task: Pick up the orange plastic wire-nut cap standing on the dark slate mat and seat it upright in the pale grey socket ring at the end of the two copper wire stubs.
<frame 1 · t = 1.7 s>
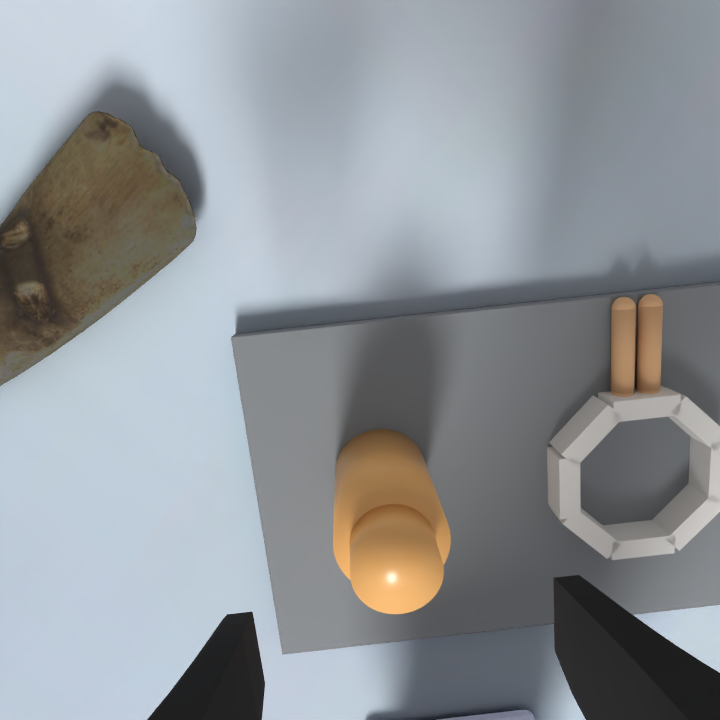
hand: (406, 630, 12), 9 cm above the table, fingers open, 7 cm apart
stone: (47, 267, 20), on the table
mat: (499, 472, 22), on the table
wire nut: (380, 471, 21), point 1 cm above the table, touching mat
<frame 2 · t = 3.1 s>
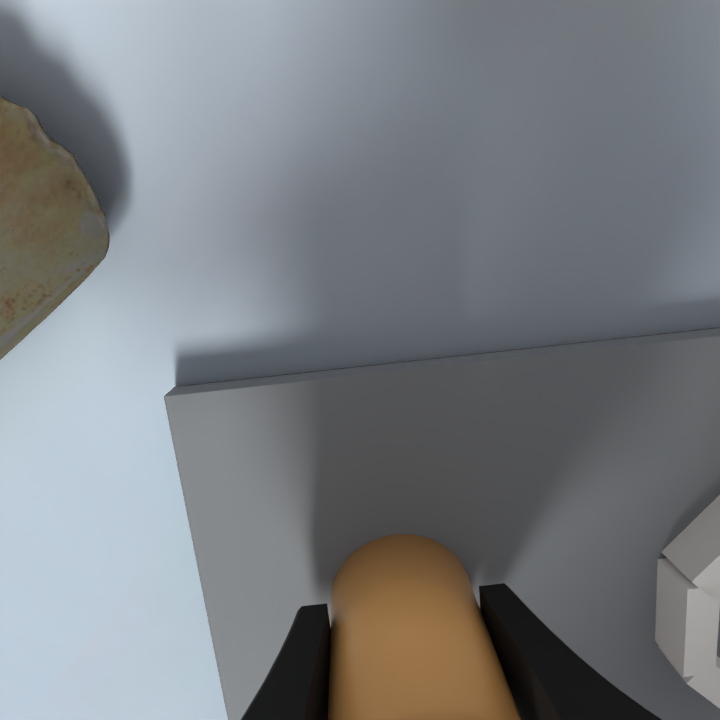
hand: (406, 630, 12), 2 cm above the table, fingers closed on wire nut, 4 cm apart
mat: (579, 588, 15), on the table
wire nut: (401, 596, 13), point 1 cm above the table, touching gripper, mat
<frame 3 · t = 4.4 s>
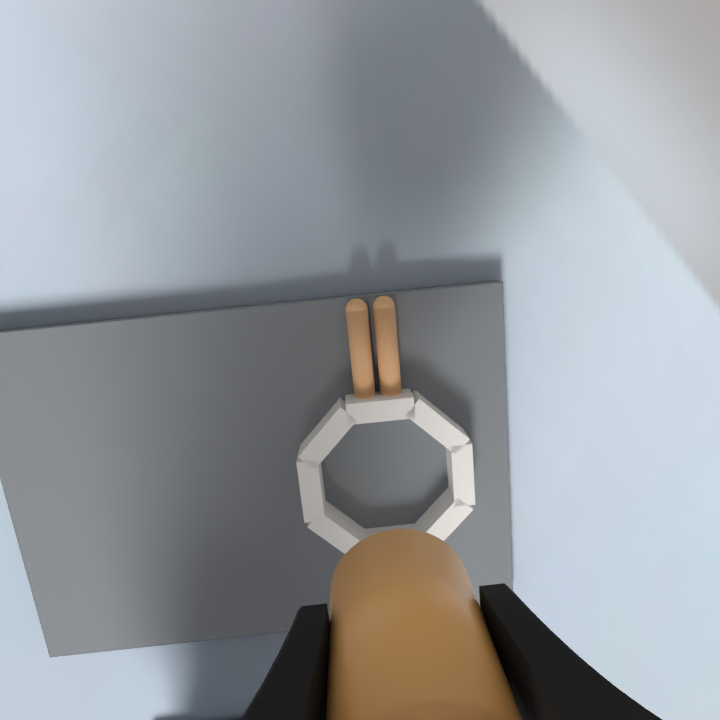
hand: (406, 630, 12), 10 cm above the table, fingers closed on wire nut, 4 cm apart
mat: (263, 474, 22), on the table
wire nut: (399, 591, 14), point 8 cm above the table, touching gripper
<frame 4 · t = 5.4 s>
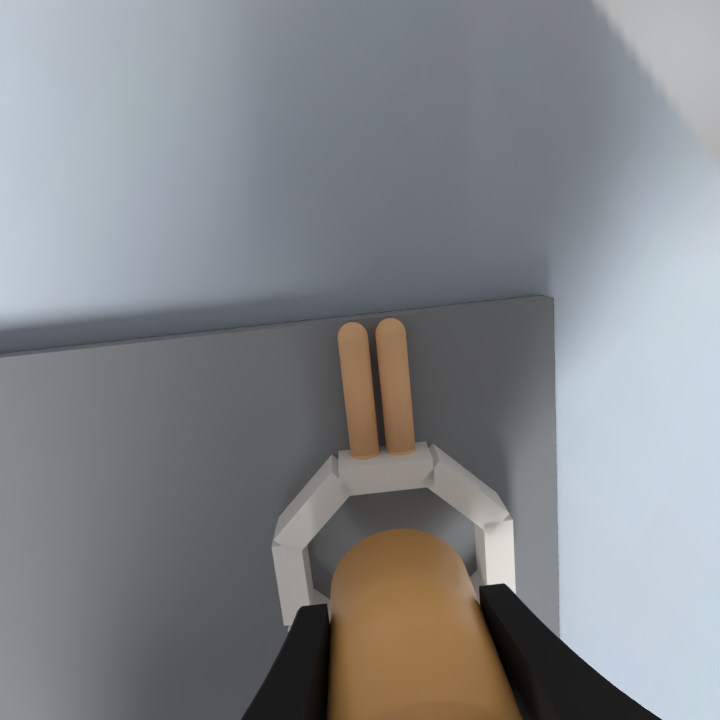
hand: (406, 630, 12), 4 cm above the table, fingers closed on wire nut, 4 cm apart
mat: (231, 551, 16), on the table
wire nut: (400, 591, 14), point 3 cm above the table, touching gripper
when the fingers open (3 cm above the table, at t = 6.1 s): wire nut stays where it is, resting on mat.
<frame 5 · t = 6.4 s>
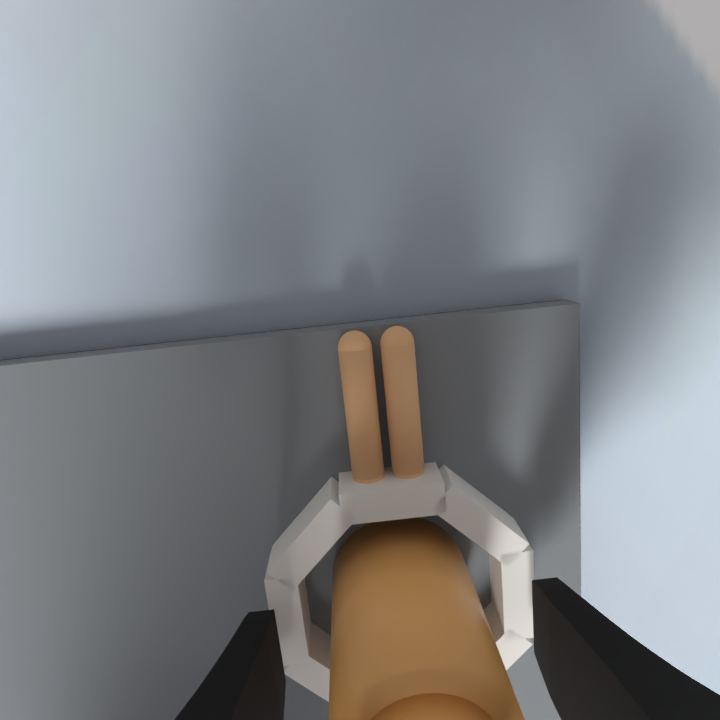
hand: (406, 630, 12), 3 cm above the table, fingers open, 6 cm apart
mat: (221, 581, 15), on the table
wire nut: (399, 575, 14), point 1 cm above the table, touching mat
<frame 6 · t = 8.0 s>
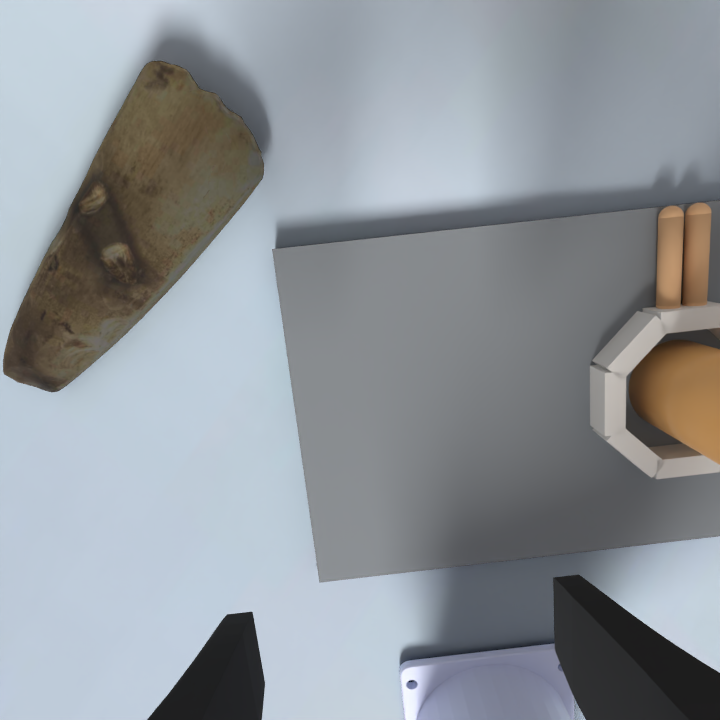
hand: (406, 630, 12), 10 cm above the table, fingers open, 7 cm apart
stone: (121, 237, 20), on the table
mat: (540, 394, 22), on the table
wire nut: (673, 383, 21), point 1 cm above the table, touching mat
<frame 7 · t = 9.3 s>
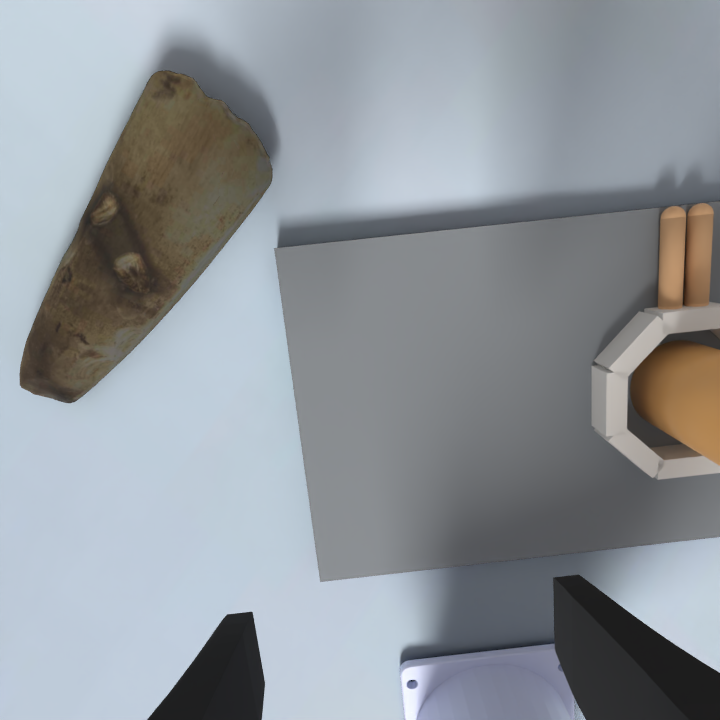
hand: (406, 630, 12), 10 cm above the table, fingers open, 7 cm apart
stone: (131, 247, 20), on the table
mat: (541, 394, 22), on the table
wire nut: (674, 384, 21), point 1 cm above the table, touching mat
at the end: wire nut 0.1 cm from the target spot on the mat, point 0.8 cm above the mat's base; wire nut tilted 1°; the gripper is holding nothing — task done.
